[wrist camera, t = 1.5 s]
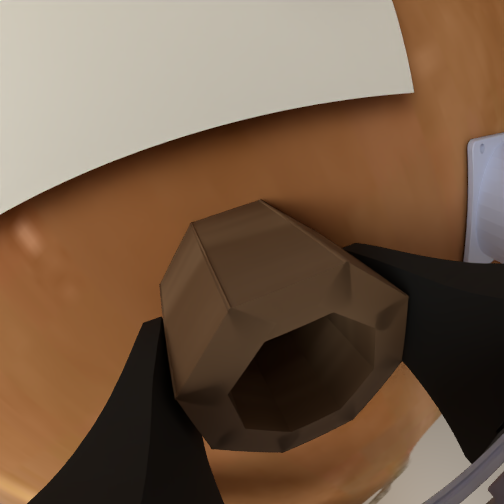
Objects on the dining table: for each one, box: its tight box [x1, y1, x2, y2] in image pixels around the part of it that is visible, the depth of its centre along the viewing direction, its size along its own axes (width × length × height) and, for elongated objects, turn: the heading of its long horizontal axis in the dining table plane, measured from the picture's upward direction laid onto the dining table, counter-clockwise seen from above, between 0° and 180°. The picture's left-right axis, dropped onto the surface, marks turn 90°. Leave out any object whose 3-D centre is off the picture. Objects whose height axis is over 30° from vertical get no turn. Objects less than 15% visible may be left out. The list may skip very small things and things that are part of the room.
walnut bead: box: [160, 200, 409, 453], centre depth 9 cm, size 6×6×5 cm
